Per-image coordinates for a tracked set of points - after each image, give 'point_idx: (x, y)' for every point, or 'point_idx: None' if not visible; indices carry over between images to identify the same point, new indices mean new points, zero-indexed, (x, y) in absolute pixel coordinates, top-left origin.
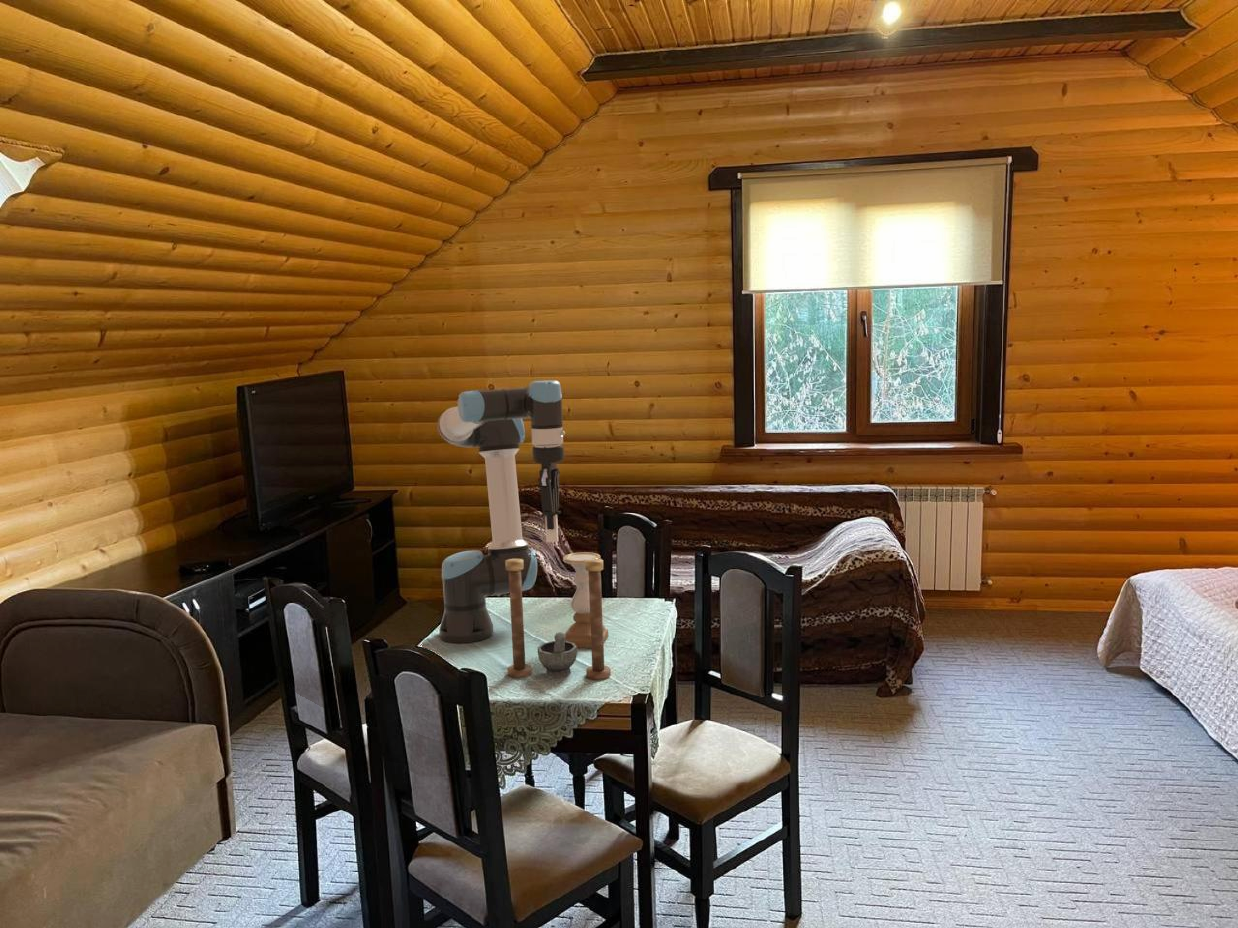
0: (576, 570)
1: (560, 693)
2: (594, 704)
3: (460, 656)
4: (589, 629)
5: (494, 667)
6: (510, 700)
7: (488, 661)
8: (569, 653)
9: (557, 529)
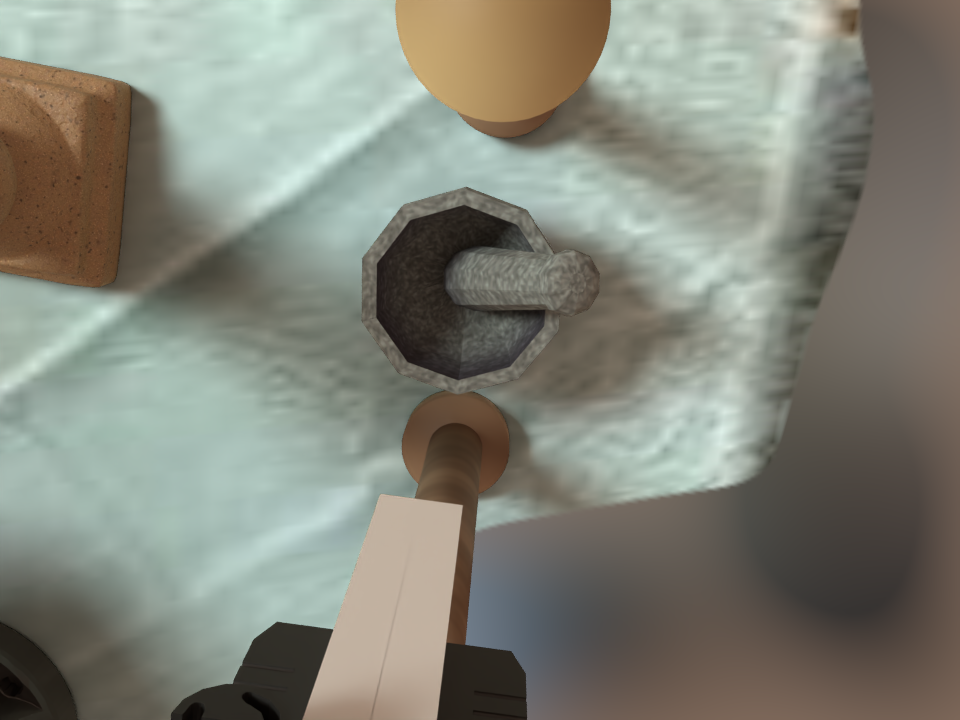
0: None
1: (707, 244)
2: (858, 81)
3: None
4: (40, 141)
5: None
6: (754, 444)
7: (300, 583)
8: (534, 223)
9: (390, 578)
